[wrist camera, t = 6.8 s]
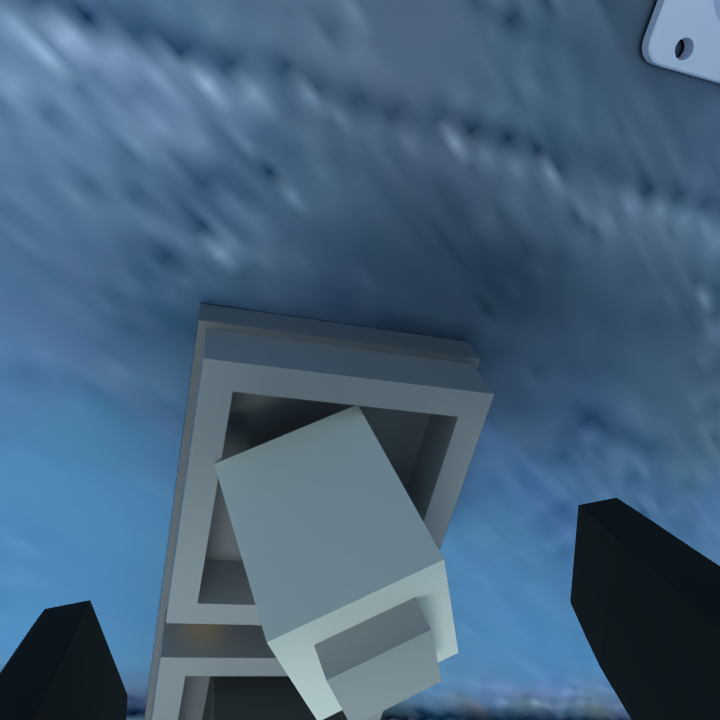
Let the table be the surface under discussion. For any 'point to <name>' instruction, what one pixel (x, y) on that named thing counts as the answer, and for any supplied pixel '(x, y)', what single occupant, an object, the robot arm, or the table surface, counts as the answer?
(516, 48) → the table surface
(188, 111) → the table surface
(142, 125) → the table surface
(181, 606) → the socket strip
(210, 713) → the twin plug
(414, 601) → the grey plug
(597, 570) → the robot arm
